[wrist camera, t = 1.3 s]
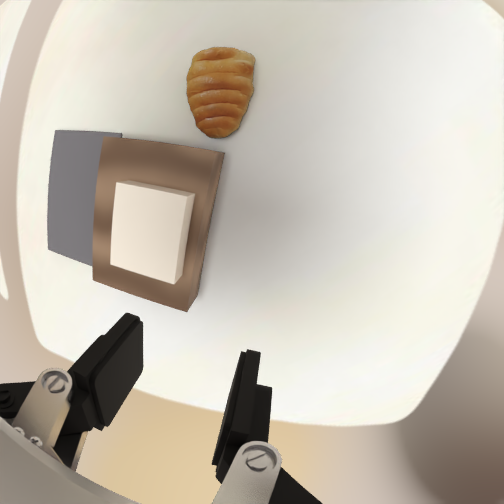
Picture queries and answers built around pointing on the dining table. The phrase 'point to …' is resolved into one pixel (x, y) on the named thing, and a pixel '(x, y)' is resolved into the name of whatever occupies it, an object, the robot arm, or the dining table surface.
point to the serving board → (165, 175)
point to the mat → (73, 192)
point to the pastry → (220, 89)
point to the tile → (150, 229)
